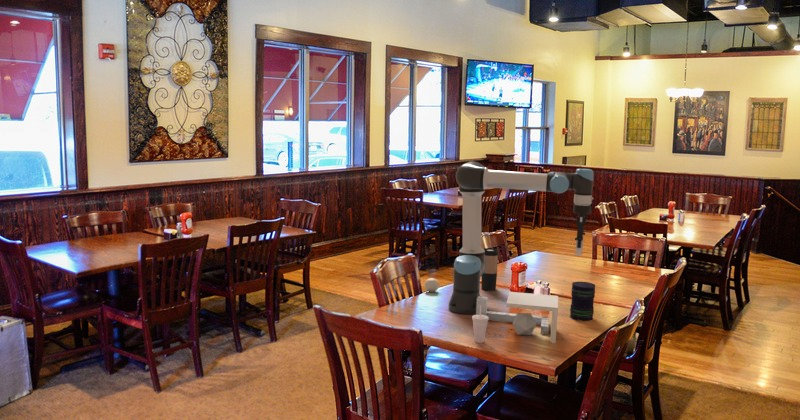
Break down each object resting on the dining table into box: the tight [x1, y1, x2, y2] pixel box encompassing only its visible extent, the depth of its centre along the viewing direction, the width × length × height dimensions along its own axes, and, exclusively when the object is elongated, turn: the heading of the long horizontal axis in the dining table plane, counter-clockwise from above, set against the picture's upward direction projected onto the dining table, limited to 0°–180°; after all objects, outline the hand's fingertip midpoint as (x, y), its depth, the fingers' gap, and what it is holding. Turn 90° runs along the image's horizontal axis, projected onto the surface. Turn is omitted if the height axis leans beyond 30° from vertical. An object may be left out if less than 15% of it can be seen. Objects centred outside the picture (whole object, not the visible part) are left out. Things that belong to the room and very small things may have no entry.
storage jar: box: [569, 281, 596, 322], centre depth 296 cm, size 10×10×15 cm
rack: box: [505, 291, 559, 344], centre depth 273 cm, size 20×18×14 cm
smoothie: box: [471, 305, 490, 344], centre depth 261 cm, size 6×6×14 cm
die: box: [512, 312, 537, 336], centre depth 273 cm, size 8×9×10 cm
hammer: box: [475, 295, 550, 335], centre depth 283 cm, size 30×14×11 cm, turn 77°
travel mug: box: [480, 247, 499, 292], centre depth 340 cm, size 8×8×20 cm
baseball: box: [423, 277, 440, 293], centre depth 332 cm, size 7×7×7 cm
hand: (578, 252), depth 301 cm, fingers open, 13 cm apart
